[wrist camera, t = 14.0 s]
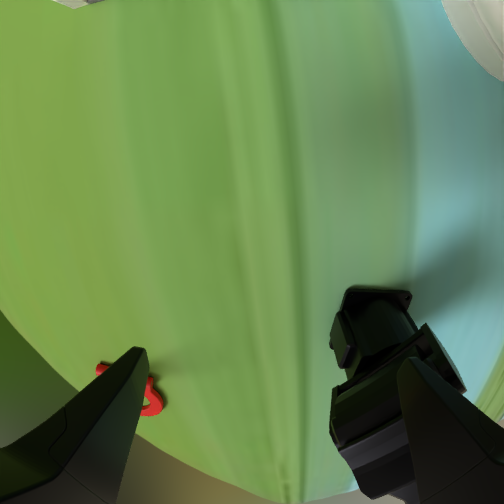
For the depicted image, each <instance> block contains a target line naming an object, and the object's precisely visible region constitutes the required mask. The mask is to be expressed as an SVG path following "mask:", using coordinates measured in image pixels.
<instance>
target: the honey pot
mask: <svg viewBox="0 0 504 504" xmlns="http://www.w3.org/2000/svg"><path fill="white" fill-rule="evenodd" d="M441 1H442V4H443V8H444V10H445V12H446V14H447V16H448V18H449V21H450V23H451V25H452V27H453V29H454V30H455V32H456V33H457V35H458V37H459V38H460V40H461V42H462V43H463V45H464V46H465V47H466V49H467V50H468V51H469V52H470V54H471V55H472V56H473V58H474V59H475V60H476V61H477V62H478V63H479V64H480V65H481V66H482V67H483V68H484V69H485V70H486V71H487V72H488V73H489V74H491V75H492V76H494V77H495V78H497V79H498V80H500V81H503V82H504V0H441Z"/></svg>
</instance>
